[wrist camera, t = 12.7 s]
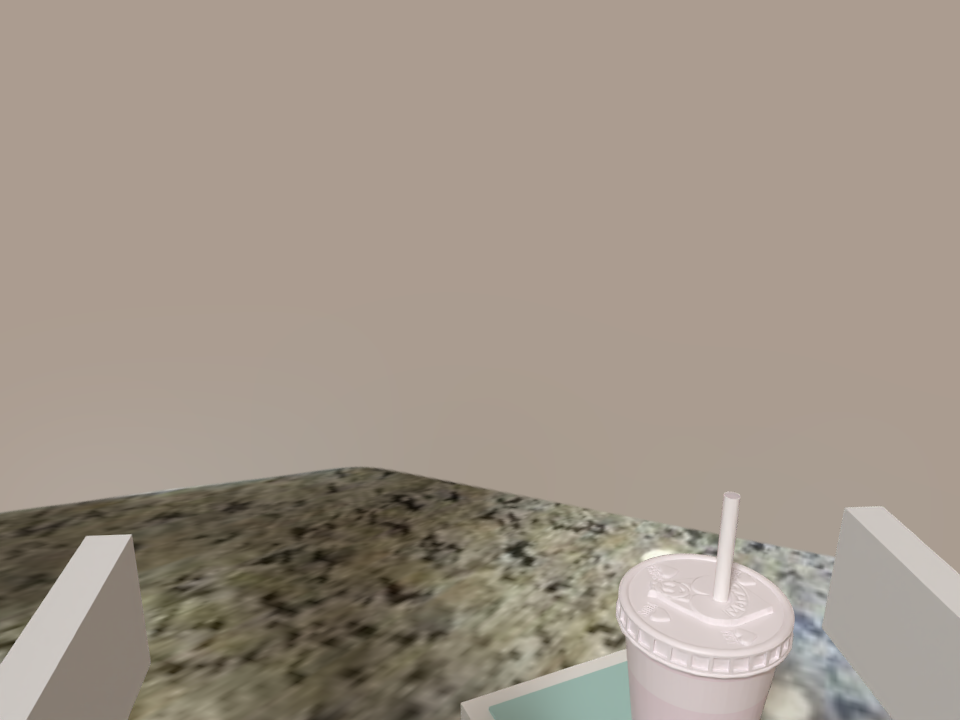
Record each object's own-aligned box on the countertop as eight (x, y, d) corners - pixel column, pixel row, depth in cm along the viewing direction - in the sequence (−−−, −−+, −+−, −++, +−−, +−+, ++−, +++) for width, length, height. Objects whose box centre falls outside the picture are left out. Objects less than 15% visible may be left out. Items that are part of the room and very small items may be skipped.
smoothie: (767, 894, 29) (820, 555, 25) (591, 846, 31) (610, 523, 26) (763, 760, 35) (806, 466, 30) (615, 726, 37) (635, 445, 32)
